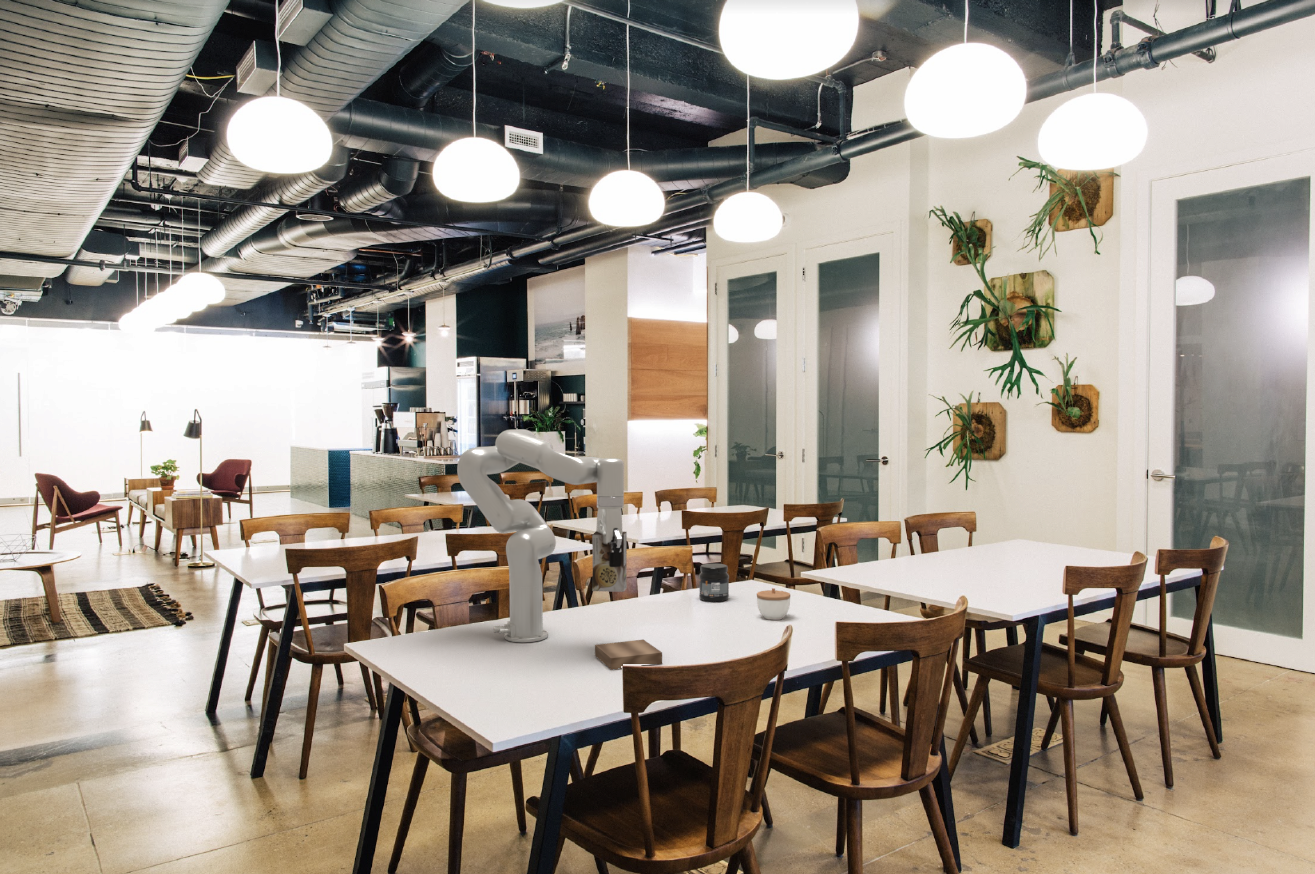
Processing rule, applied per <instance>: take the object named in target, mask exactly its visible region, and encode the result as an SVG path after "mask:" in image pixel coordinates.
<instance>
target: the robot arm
mask: <svg viewBox="0 0 1315 874" xmlns="http://www.w3.org/2000/svg"><path fill="white" fill-rule="evenodd" d="M518 464H523V465H526V466H529V467H531V468H534V469H537V470H539V471H540V472H541V473H542V474H545V475H546V476H548V477H550V478H552V479H555V480H557V481H560V482H563V483H565V484H569V485H573V486H574V485H575V486H578V485H584V484H592V483H596V508H597V515H596V529H595V532H596V531H597V532H599V533H600V534H602V535H603V543H604V544H608V543H609V546H610V551H611V552H609V566H610V567H620V566H621V547H622V546H621V542H622V532H623V514H622V509H624V505H625V504H624V503H625V502H624V501H625V500H624V499H625V497H624V496H625V493H624V492H625V464H624V461H623V459H621V458H617V457H616V458H615V457H613V458H612V457H604V458H602V457H597V456H596V457H595V456H580V457H575V456H574V457H573V456H571V455H567V454H566V453H565V454H564V453H562V452H559V451H556V450H554V447H553V445H552V443H551V442H550V441H548V440H546V439H542V438H539V437H537V436H536V435H535V434H534V433H533V432H532V431H531V430H528V429H524V428H523V429H518V428H517V429H506V430H503V431H502V432H501V433H499V434H498V436H497V437H496V439H495V445H493V446H491V445H490V446H476V447H471V448H469V449H467V450H465V451H464V452H463V453H462V454H461V455H460V457H459V460H458V463H457V467H456V469H457V478H458V481H459V483H460V485H461V487H462V488H463V489H464V491H465V492H466V493H467V495H468V496H469V497H470V498H471V499H472V501H473V502H474V503H475V504H476V507H478V509H479V511H480V512H481V513H482V514H483V516H484V517H485V519H486V520H487V521H488V524H490V525H491V527H492V528H493V529H494V530H495V531H496V532H498V533H500V534H510V533H513V532H514V533H513V534H511V535H510V537H509V538H508V540H507V542H506V545H505V552H506V553H505V554H506V559H507V563H508V564H507V565H508V575H509V576H508V580H509V620H508V621H506V622H507V623H505V624H504V625H495V626H493V633H494V634H497V633H499V634H500V635H502V634H504V639H505V640H506V641H509V642H513V643H532V642H539V641H543V640H545V639H547V638H548V636H549V631H548V630H546V629H543V626H544V623H543V621H544V619H543V616H544V615H543V611H544V610H543V608H544V605H543V573H542V568H541V565H540V562H539V560H541V559H544V558H546V557H548V556H551V554H552V553H553V552H554V551H555V549H556V544H557V541H556V537H555V534H554V532H553V531H552V529H551V528H550V526H549V525H548V524H547V522H546V520H545V519H544V518H543V517H542V516H541V514H540V513H539V512H538V511H537V509H536V508H535V506H533V505H532V504H531V503H530V502H529V501H527V500H525V499H520V498H519V499H518V498H517V499H510V498H509V496H507V495H506V494H505V493H504V491H503V490H502V489H501V487H500V486H499V485H498V484H497V482H495V481H493V480H492V479H491V478H489V476H488V475H494V474H495V475H496V474H500V473H503V472H505V471H507V470H509V469H511V468H512V467H515V466H516V465H518ZM613 534H614V537H615V539H616V541H611V540H612V537H613ZM613 545H614V547H613Z"/></svg>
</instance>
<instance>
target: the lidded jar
mask: <svg viewBox="0 0 1315 874" xmlns="http://www.w3.org/2000/svg"><path fill="white" fill-rule="evenodd" d="M756 604H757V608H758V611H759V613H760V614H761V616H763V618H764V619H766V620H770V621H772V620H774V621H777V620H782V619H784V617H785V616H786V615H787V614H788V612H789V609H790V605H791V593H790V592H787V591H783V590H776V588H773V587H772V588H771V589H770V590H761V591H757V593H756Z"/></svg>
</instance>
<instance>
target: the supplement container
mask: <svg viewBox="0 0 1315 874" xmlns="http://www.w3.org/2000/svg"><path fill="white" fill-rule="evenodd" d="M698 578H699V581H698V582H699V594H698V595H699V599H700V600H702V601H704V602H708V603H721V602H726V601H727V600H729V598H730V592H729V591H730V590H729V587H730V585H729V584H730V583H729V581H730V580H729V579H730V575H729V573H728V565H726V564H722V563H706V564H705V563H704V564H701V565H700V573H699V576H698Z"/></svg>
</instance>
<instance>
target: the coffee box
mask: <svg viewBox="0 0 1315 874" xmlns="http://www.w3.org/2000/svg"><path fill="white" fill-rule="evenodd" d="M627 535H628V533H627V531H622V542H621V546H622V547H621V566H620V567H610V566H609V552H611V551H610V546H609V543H608V544H604V543H603V535H602V534H600V533H599V532H597V531H596V530H595V532H594V533H593V534H592V535H591V536H592V539H591V540H592V543H591V544H592V588H591V591H592V592H614V593H615V592H617V593H620V592H621V593H624V592H625V591H626V590H627V584H628V583H627V575H628V574H627V567H628V566H627V560H628V559H627V558H628V557H627V555H628V553H627V550H628V549H627V540H628V539H627V538H628V537H627ZM611 541H616V539H615V537H614V534H613V537H612V540H611ZM613 547H614V545H613Z"/></svg>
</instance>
